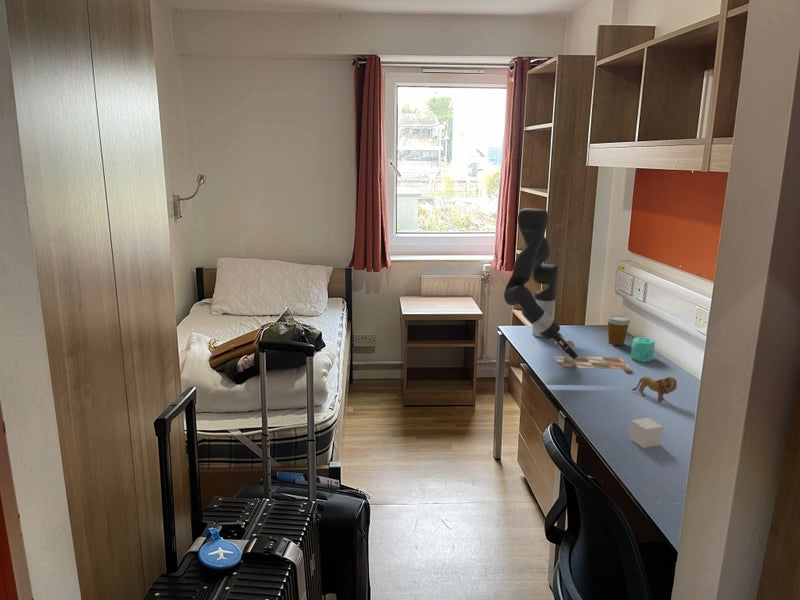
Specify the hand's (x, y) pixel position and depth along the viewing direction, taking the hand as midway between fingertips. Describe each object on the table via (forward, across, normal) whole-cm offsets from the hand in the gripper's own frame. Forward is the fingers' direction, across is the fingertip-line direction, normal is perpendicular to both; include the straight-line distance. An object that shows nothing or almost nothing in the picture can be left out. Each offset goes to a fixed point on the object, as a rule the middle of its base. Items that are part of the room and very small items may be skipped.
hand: (572, 354), depth 229 cm
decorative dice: (+27, +12, -18) cm, 35 cm away
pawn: (+2, 0, +4) cm, 5 cm away
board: (+10, +3, -2) cm, 11 cm away
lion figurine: (+19, -27, -11) cm, 35 cm away
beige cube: (+8, -60, +1) cm, 60 cm away
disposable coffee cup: (+24, +31, -16) cm, 43 cm away
